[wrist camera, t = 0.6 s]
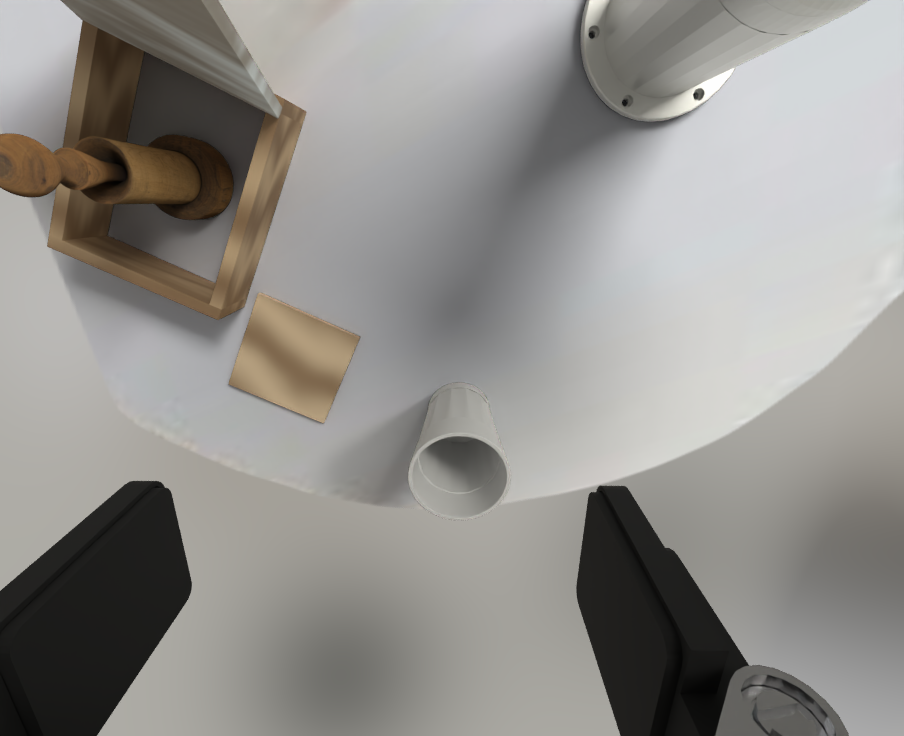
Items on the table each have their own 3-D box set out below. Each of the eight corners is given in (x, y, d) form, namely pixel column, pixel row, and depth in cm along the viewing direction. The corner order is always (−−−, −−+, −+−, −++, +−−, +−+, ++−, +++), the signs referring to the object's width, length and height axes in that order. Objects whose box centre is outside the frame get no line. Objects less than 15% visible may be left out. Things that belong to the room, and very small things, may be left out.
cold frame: (145, -31, 34) (-305, -364, 14) (322, 62, 36) (150, -111, 16) (94, 241, 41) (-258, 281, 21) (244, 306, 43) (55, 402, 23)
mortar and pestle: (217, 129, 38) (24, 73, 21) (245, 210, 40) (90, 218, 23) (143, 147, 38) (-104, 106, 21) (174, 226, 41) (-27, 245, 24)
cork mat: (260, 292, 42) (257, 293, 42) (360, 336, 44) (358, 338, 43) (231, 381, 46) (228, 384, 45) (325, 420, 47) (323, 423, 47)
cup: (417, 442, 48) (405, 516, 37) (422, 371, 45) (410, 428, 34) (493, 448, 48) (504, 524, 37) (502, 378, 45) (517, 437, 34)
